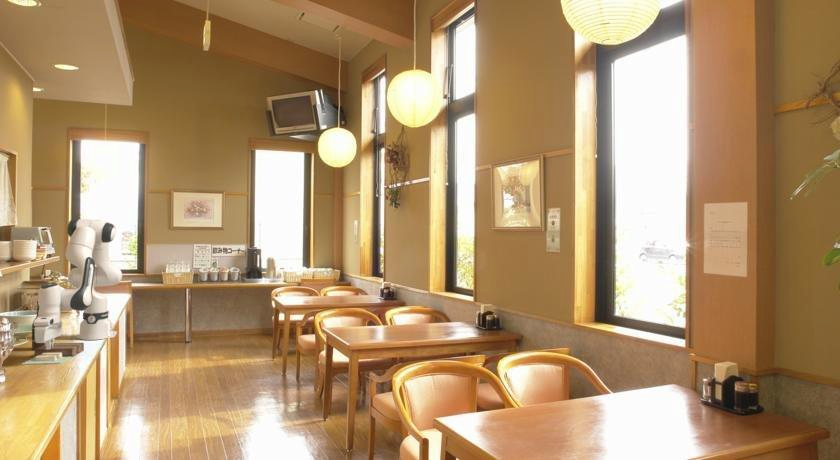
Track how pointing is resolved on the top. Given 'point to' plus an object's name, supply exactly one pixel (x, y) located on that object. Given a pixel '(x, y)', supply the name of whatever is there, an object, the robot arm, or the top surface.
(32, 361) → the rubber mat
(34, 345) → the beer bottle
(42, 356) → the birch tile
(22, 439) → the top surface
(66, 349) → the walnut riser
